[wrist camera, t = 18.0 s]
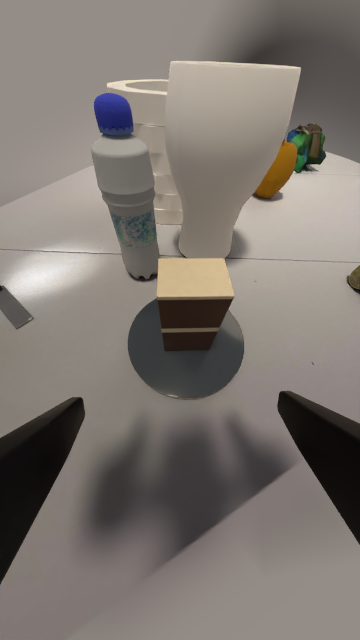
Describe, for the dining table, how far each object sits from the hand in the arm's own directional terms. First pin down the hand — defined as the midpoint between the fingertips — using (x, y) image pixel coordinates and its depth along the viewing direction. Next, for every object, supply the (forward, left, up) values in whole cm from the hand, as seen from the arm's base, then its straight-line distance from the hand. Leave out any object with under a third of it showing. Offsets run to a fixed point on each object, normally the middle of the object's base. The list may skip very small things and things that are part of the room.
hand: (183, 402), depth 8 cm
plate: (+9, -4, -14) cm, 17 cm away
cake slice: (+9, -4, -12) cm, 16 cm away
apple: (+45, -44, -14) cm, 64 cm away
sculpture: (+62, -72, -14) cm, 96 cm away
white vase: (+28, -16, -14) cm, 35 cm away
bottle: (+25, -2, -14) cm, 28 cm away
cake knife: (+27, +22, -14) cm, 37 cm away
